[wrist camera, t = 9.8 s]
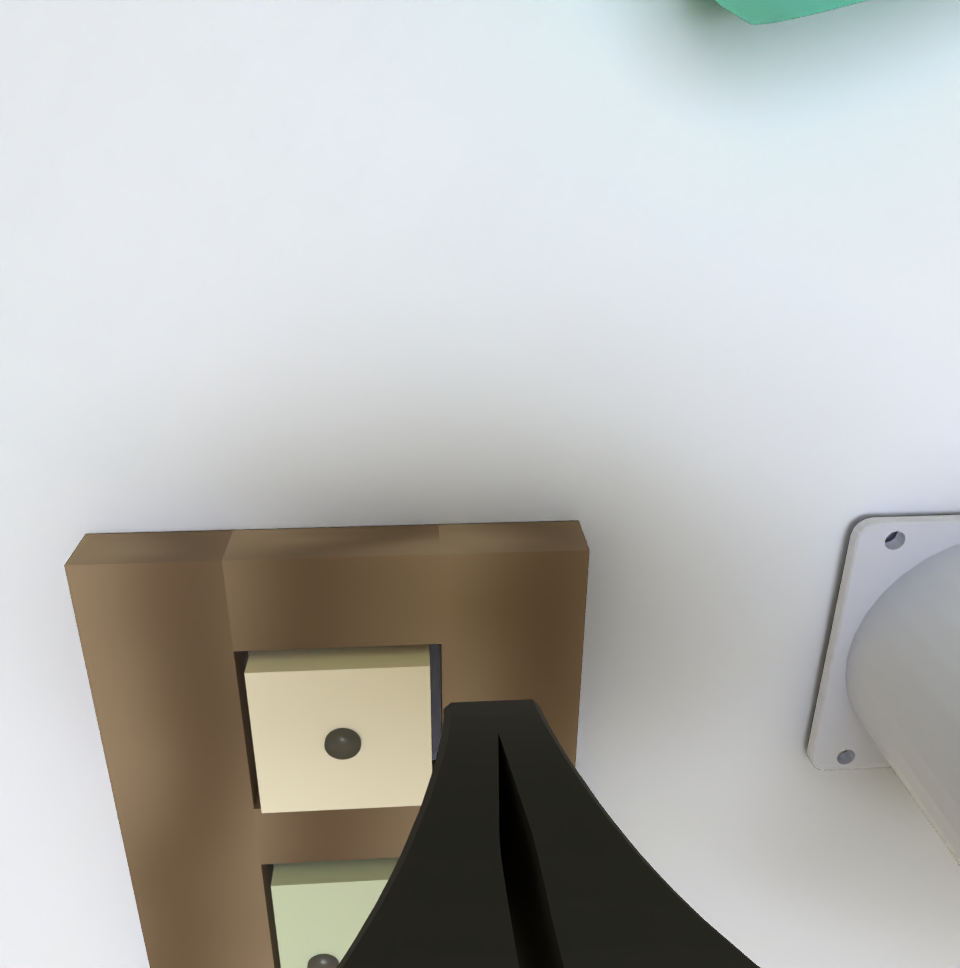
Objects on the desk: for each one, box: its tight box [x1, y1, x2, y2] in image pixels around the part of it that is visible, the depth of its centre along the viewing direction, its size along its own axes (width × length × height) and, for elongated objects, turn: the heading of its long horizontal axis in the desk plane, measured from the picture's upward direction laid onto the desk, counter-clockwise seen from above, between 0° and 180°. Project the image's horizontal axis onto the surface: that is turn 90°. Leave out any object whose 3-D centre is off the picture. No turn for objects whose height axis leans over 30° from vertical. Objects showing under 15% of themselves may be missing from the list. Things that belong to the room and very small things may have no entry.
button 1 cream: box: [244, 644, 432, 813], centre depth 23 cm, size 4×4×2 cm
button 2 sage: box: [271, 857, 399, 968], centre depth 26 cm, size 4×4×2 cm
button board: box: [64, 521, 589, 968], centre depth 27 cm, size 12×24×2 cm, turn 0°
